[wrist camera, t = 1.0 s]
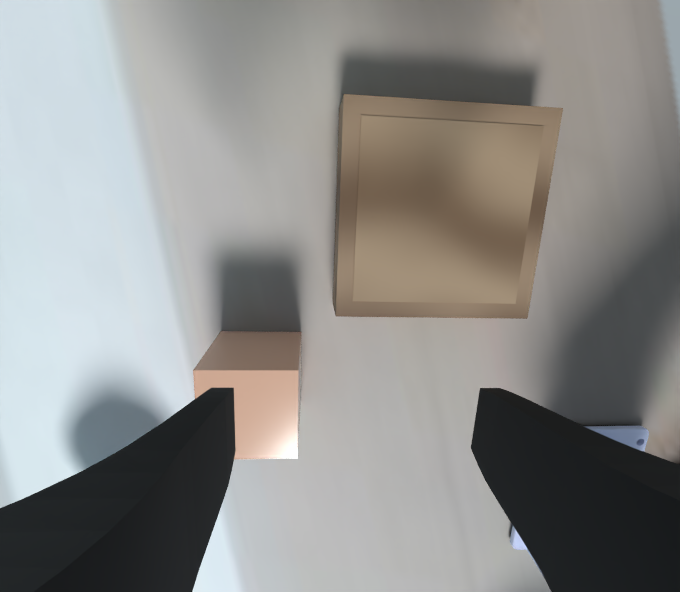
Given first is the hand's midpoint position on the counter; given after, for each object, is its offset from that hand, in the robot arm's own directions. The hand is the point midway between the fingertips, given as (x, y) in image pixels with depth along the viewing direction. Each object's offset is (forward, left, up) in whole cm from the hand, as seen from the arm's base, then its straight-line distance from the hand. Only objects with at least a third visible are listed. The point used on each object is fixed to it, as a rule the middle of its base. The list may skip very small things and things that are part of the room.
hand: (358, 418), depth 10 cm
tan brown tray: (+6, -5, -10) cm, 13 cm away
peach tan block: (-3, +4, -10) cm, 12 cm away
